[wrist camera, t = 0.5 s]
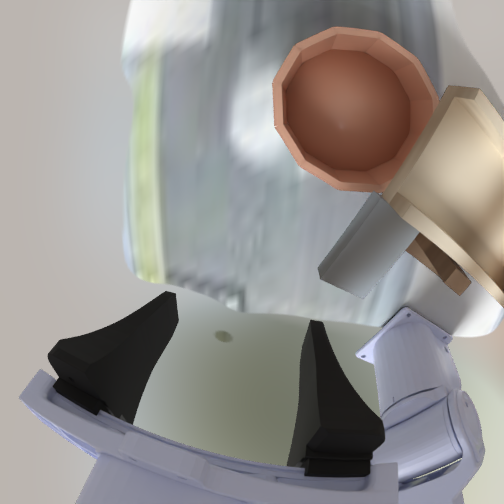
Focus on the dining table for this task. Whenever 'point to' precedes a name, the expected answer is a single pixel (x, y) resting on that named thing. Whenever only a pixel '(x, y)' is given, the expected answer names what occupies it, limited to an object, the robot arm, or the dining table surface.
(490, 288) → the beige curved piece
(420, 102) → the cup
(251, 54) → the dining table surface
